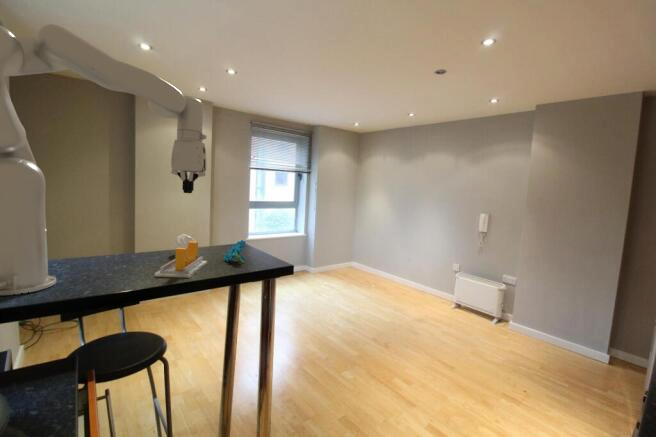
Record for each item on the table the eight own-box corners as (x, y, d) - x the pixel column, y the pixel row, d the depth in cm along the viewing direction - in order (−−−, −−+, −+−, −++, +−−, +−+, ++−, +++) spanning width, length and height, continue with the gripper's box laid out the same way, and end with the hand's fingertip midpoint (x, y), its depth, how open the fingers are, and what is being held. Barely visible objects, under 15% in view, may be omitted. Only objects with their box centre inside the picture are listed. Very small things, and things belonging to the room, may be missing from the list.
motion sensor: (184, 257, 112) (184, 237, 111) (168, 255, 115) (169, 234, 114) (200, 253, 120) (200, 234, 119) (185, 251, 122) (185, 232, 121)
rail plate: (189, 277, 90) (189, 269, 90) (154, 276, 90) (154, 267, 89) (206, 263, 106) (207, 256, 106) (177, 262, 105) (177, 255, 105)
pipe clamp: (184, 259, 104) (184, 241, 103) (197, 260, 104) (198, 241, 103) (169, 269, 92) (169, 248, 91) (184, 270, 92) (184, 249, 91)
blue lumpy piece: (221, 253, 116) (241, 235, 117) (232, 262, 118) (252, 245, 119) (223, 264, 106) (244, 245, 107) (235, 275, 108) (256, 256, 109)
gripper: (216, 141, 104) (214, 194, 106) (171, 137, 103) (169, 191, 105) (209, 137, 97) (206, 195, 98) (160, 133, 96) (159, 191, 97)
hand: (187, 192), depth 102 cm, fingers closed
